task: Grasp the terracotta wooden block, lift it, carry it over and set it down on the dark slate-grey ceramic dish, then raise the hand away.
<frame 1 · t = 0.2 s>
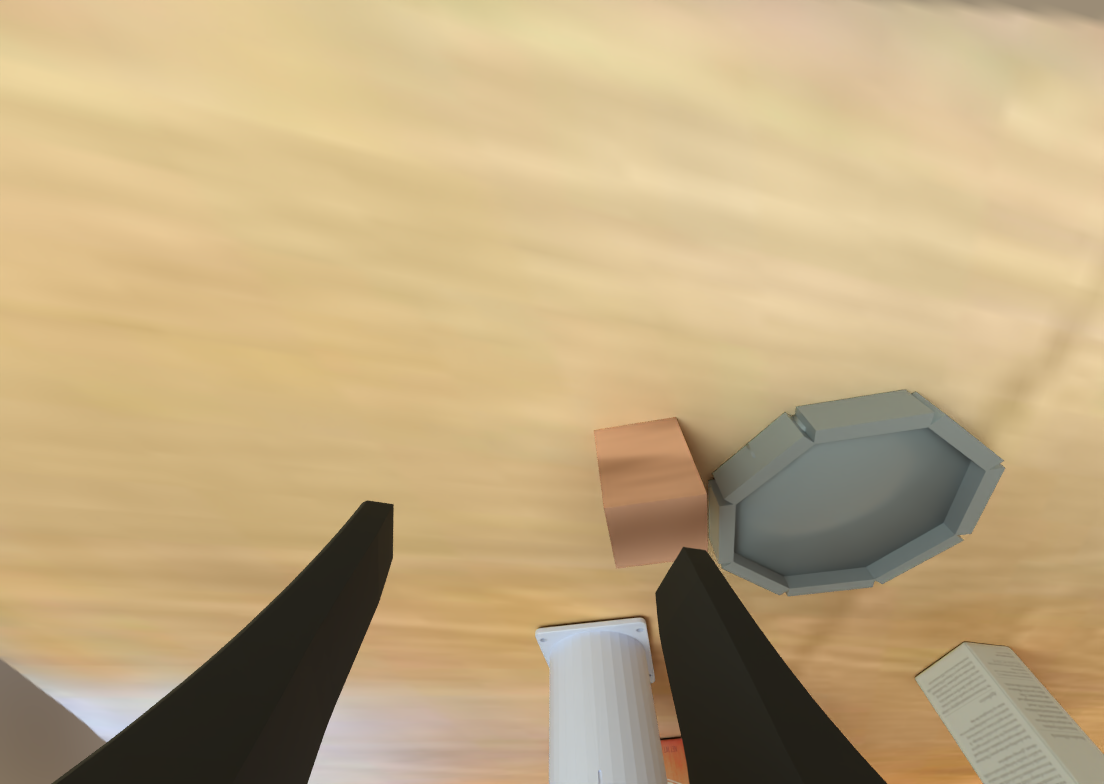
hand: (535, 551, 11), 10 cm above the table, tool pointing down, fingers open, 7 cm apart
cracker box: (617, 748, 45), on the table
block: (638, 453, 22), on the table
dish: (829, 494, 23), on the table
skincare box: (958, 658, 34), on the table
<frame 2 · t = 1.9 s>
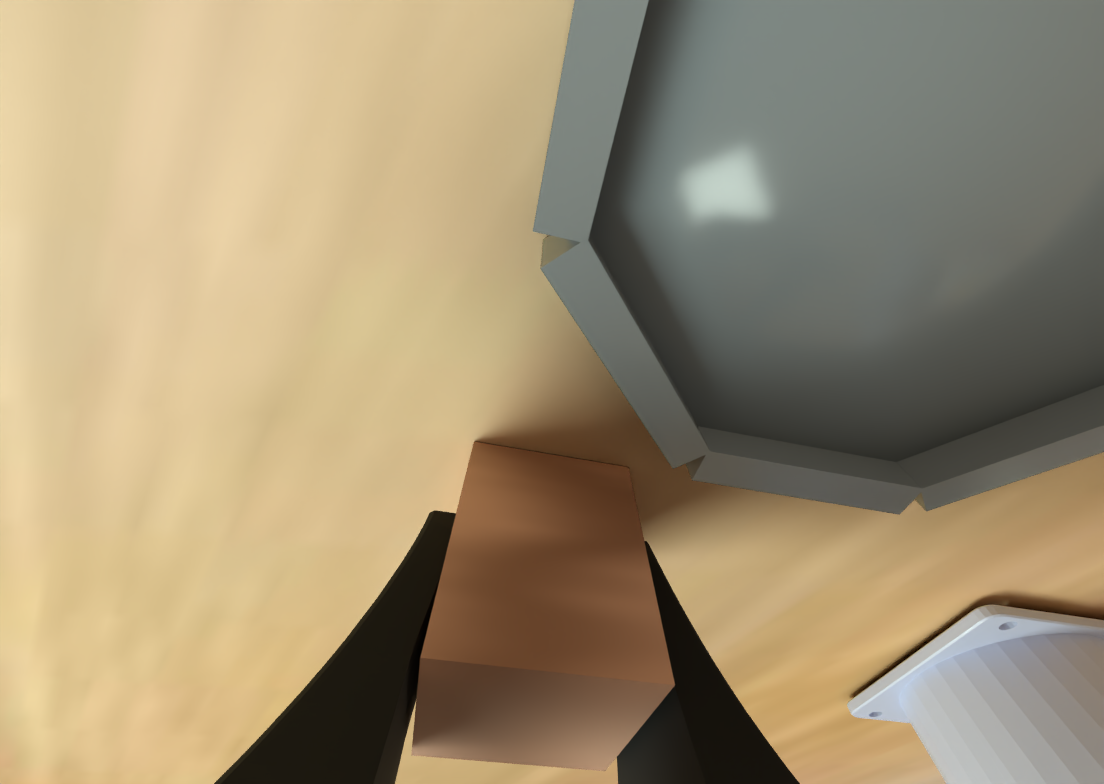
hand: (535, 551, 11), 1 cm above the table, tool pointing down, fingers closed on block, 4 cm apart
block: (537, 507, 12), on the table, touching gripper
dish: (951, 145, 7), on the table
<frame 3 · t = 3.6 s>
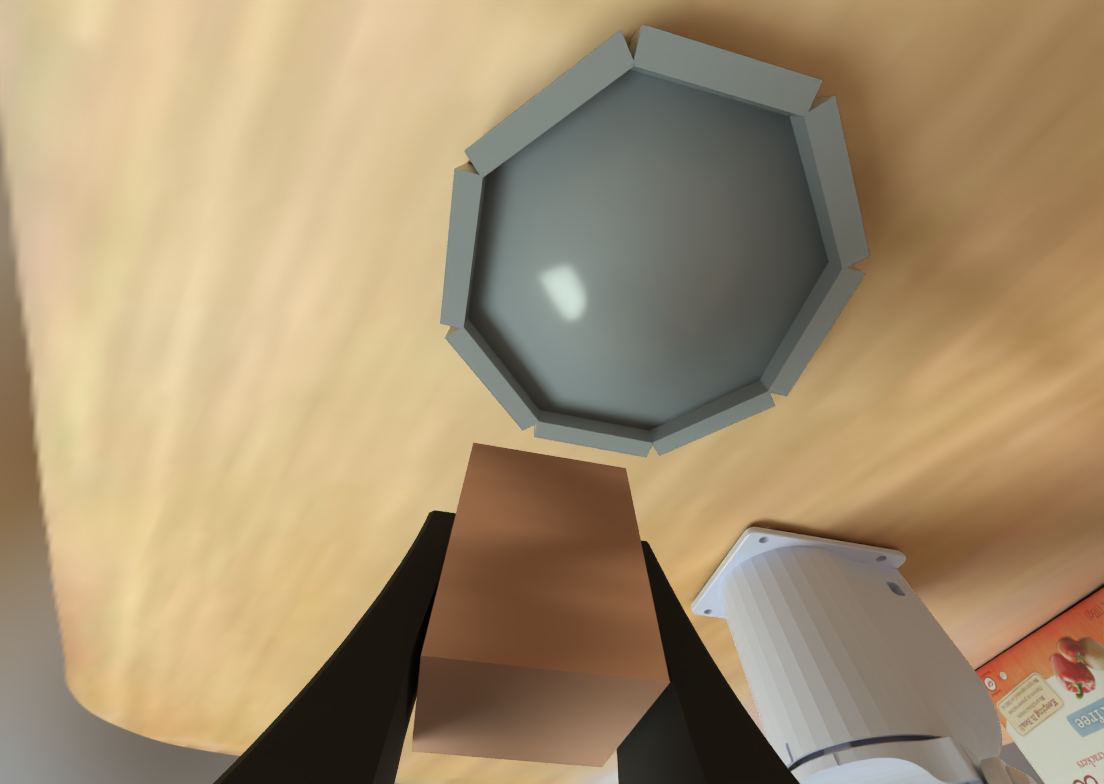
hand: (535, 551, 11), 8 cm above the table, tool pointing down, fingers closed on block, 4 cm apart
cracker box: (1066, 627, 28), on the table
block: (536, 508, 12), point 7 cm above the table, touching gripper
dish: (636, 281, 15), on the table
when the fingers open (4 cm above the table, at t = 5.1 s): block drops 2 cm, resting on dish.
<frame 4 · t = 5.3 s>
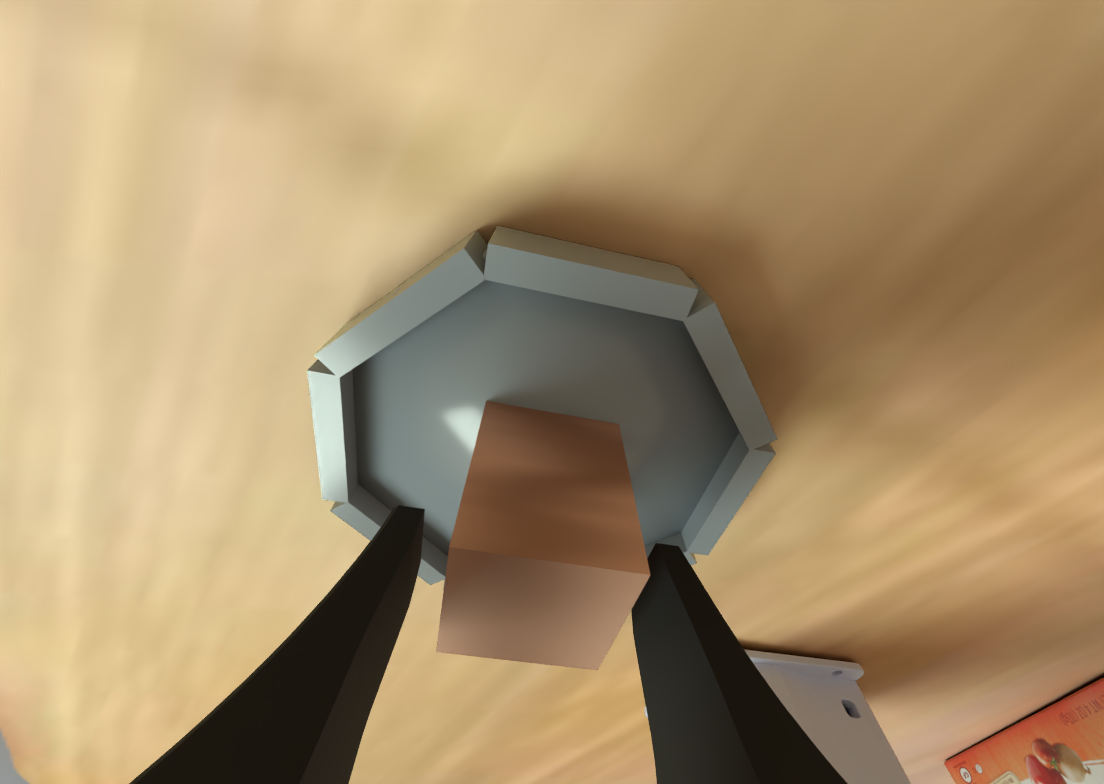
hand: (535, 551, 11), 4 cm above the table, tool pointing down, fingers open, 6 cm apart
cracker box: (1043, 720, 27), on the table
block: (540, 462, 13), point 1 cm above the table, touching dish
dish: (540, 439, 14), on the table
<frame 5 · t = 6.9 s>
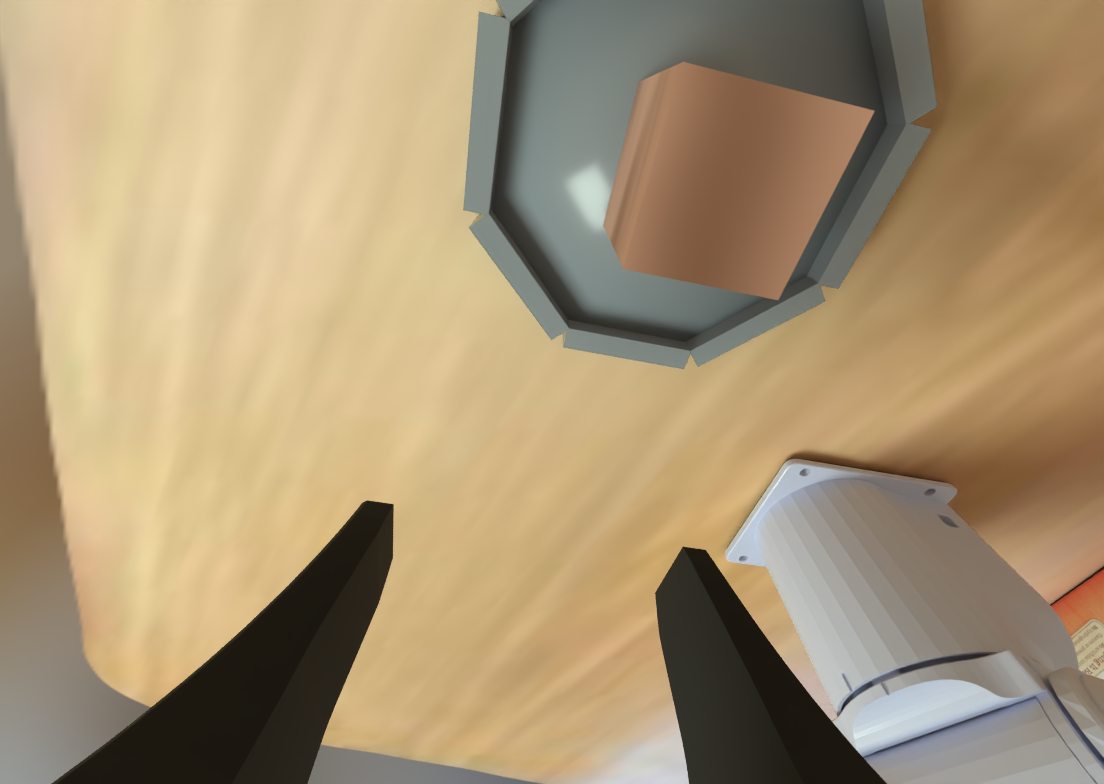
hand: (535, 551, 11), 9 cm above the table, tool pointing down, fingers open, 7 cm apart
block: (680, 173, 13), point 1 cm above the table, touching dish
dish: (672, 166, 14), on the table
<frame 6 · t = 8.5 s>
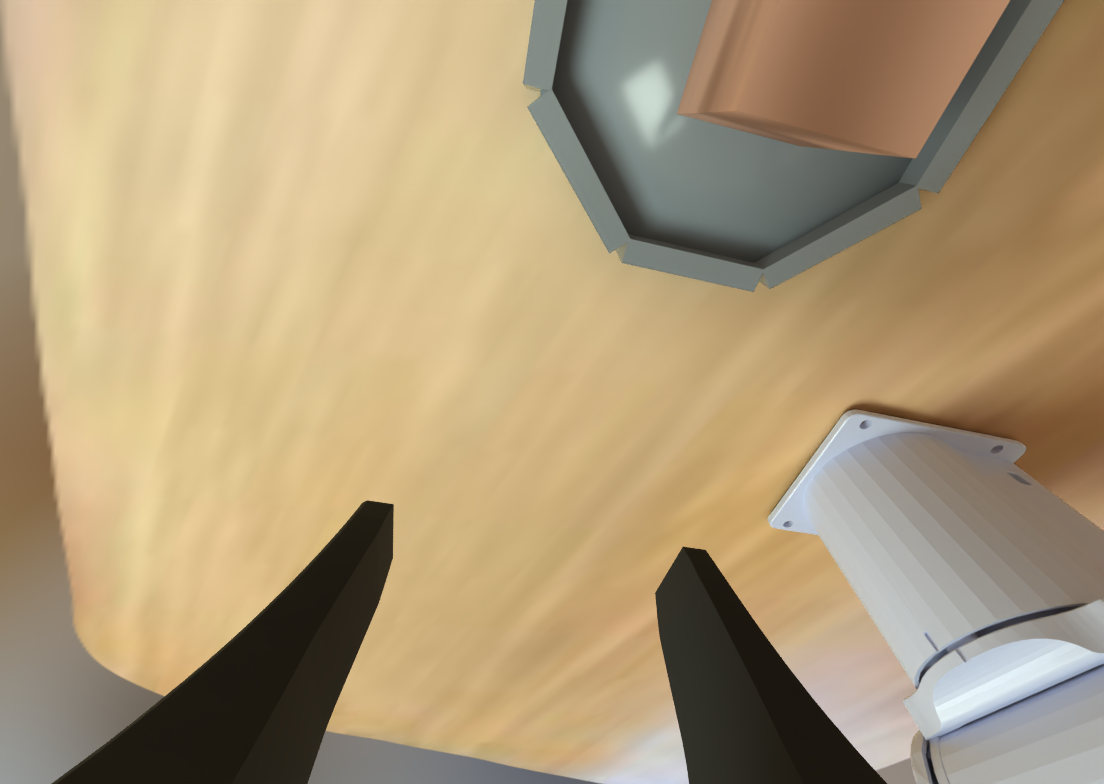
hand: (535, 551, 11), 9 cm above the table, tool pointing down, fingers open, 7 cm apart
block: (770, 47, 12), point 1 cm above the table, touching dish
dish: (756, 47, 13), on the table
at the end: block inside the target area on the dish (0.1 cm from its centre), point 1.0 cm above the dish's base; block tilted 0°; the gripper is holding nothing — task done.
